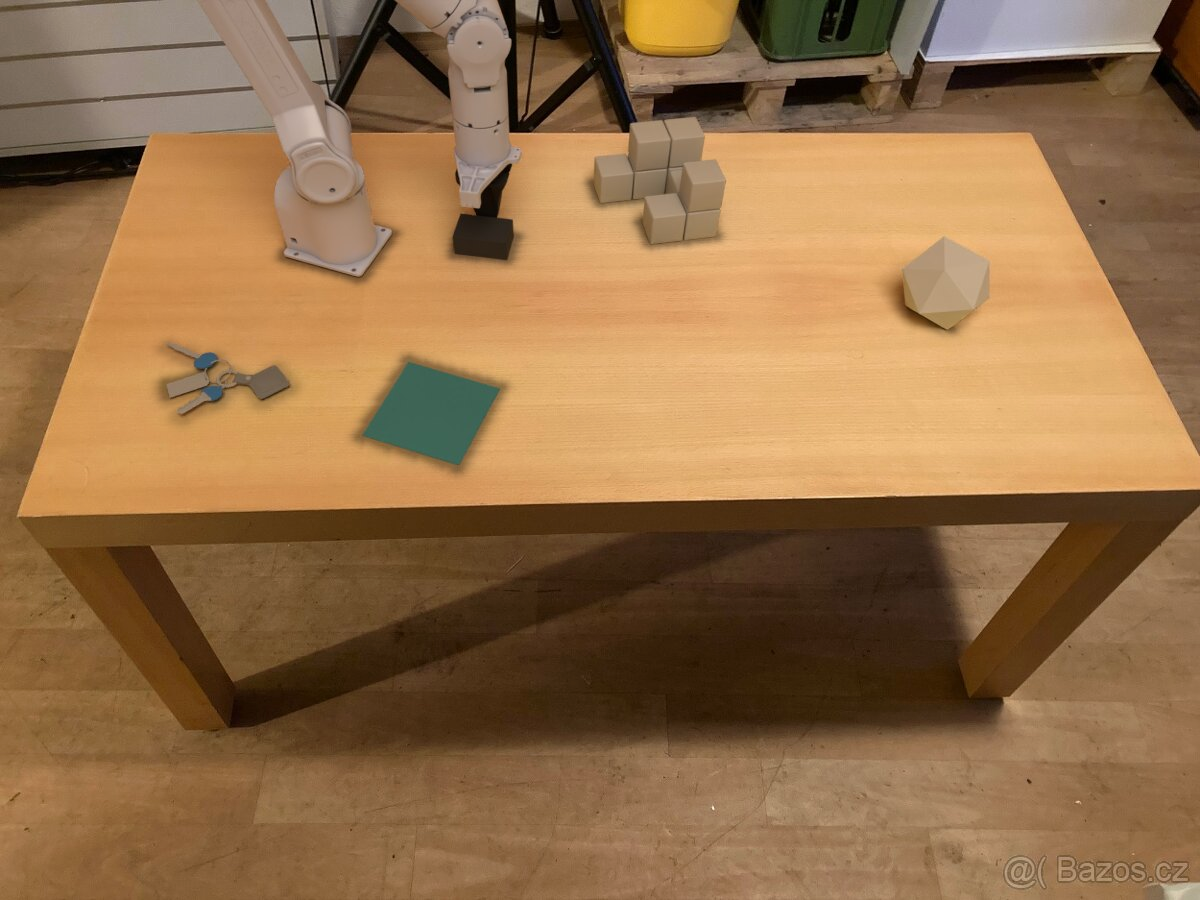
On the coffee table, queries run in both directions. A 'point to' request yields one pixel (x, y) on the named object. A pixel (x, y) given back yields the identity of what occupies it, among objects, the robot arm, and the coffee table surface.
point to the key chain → (259, 382)
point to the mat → (432, 413)
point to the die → (946, 282)
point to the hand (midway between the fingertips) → (488, 218)
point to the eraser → (483, 236)
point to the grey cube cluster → (665, 180)
